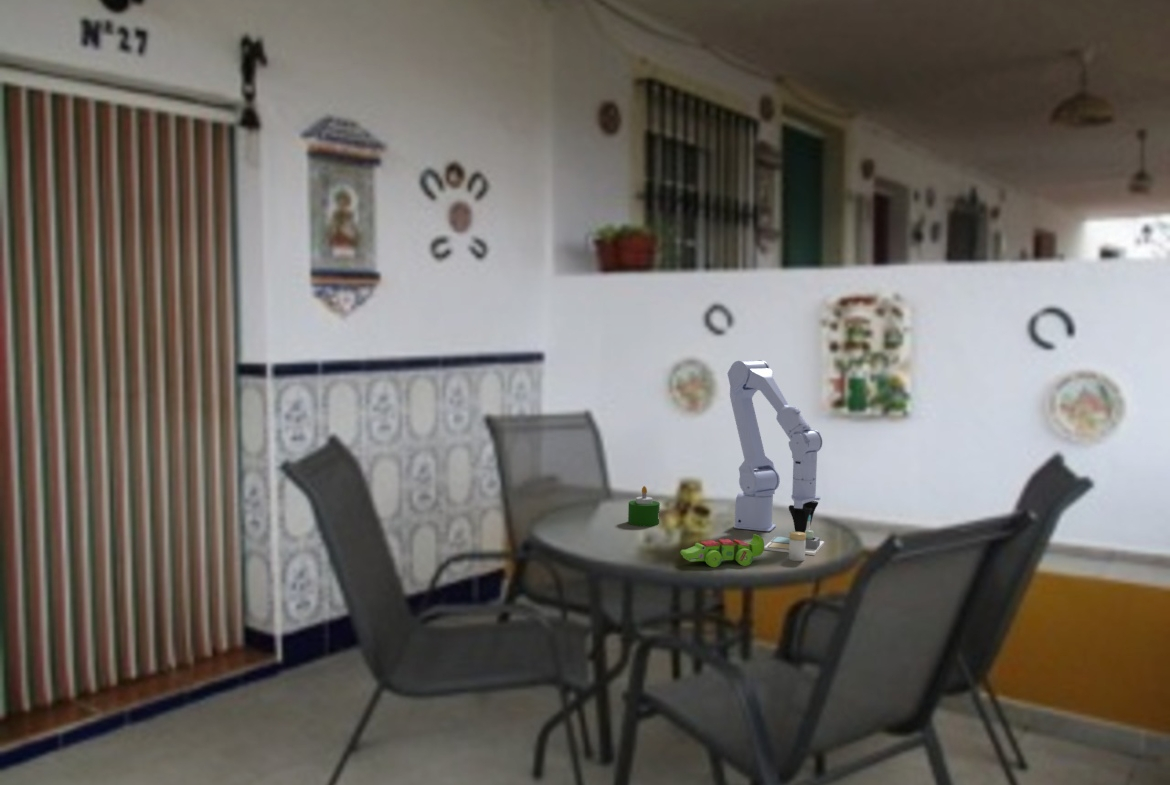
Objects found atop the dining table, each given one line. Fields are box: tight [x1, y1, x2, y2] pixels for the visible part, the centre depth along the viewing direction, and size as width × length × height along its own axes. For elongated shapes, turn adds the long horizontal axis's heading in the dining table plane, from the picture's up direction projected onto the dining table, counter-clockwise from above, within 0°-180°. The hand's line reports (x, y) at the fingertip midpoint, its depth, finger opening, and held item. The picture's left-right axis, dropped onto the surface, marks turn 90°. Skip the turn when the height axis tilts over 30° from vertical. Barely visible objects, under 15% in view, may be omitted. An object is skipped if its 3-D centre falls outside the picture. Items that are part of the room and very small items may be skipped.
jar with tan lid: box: [788, 531, 806, 562], centre depth 229 cm, size 4×4×6 cm
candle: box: [627, 485, 661, 527], centre depth 265 cm, size 8×8×10 cm
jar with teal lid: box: [806, 515, 811, 530], centre depth 250 cm, size 4×4×6 cm
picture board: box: [764, 535, 825, 556], centre depth 241 cm, size 12×13×3 cm
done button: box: [805, 529, 814, 540], centre depth 238 cm, size 2×2×2 cm
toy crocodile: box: [679, 533, 765, 568], centre depth 224 cm, size 20×7×6 cm, turn 105°
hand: (802, 532), depth 250 cm, fingers open, 6 cm apart
